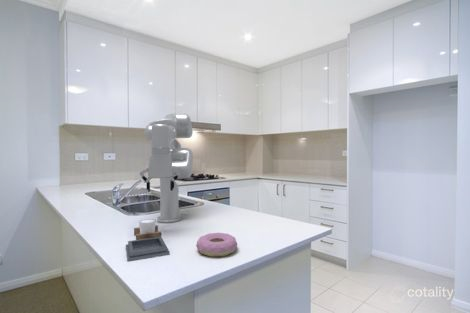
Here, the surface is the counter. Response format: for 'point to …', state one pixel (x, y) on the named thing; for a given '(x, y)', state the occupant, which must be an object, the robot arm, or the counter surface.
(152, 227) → the white cup
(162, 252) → the cradle
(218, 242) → the donut
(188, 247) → the counter surface
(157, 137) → the robot arm
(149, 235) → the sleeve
